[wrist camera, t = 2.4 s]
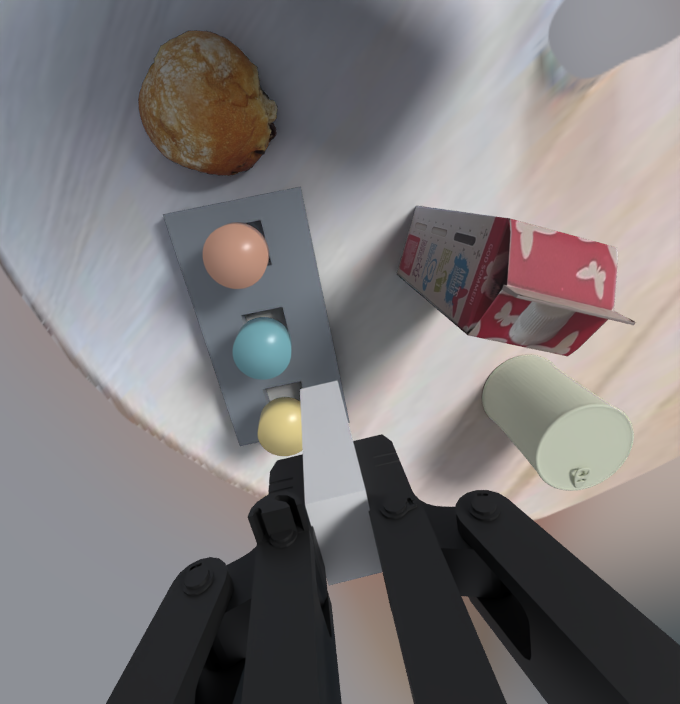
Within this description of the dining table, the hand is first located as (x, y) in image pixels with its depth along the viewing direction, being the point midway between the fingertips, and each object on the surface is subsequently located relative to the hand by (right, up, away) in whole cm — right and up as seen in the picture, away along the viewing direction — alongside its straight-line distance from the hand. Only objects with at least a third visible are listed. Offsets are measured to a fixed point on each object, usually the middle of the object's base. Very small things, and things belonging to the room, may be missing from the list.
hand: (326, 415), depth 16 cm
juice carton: (+10, +13, +24) cm, 29 cm away
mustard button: (-5, -3, +25) cm, 26 cm away
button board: (-7, +5, +25) cm, 27 cm away
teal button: (-6, +4, +22) cm, 23 cm away
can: (+21, -2, +31) cm, 38 cm away
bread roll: (-10, +23, +19) cm, 31 cm away
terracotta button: (-8, +11, +19) cm, 24 cm away
